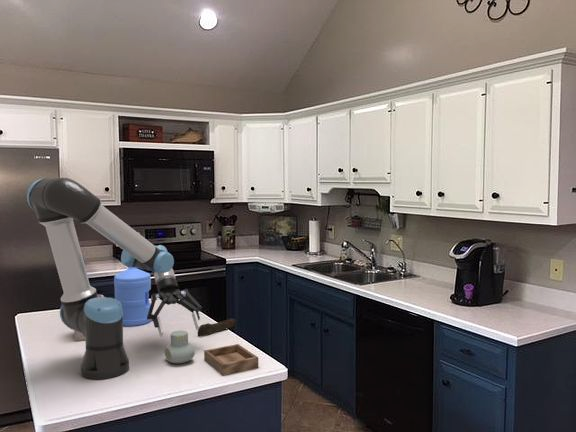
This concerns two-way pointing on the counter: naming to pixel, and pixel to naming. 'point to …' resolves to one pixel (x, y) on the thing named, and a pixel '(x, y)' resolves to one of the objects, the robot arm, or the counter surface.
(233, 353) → the tray
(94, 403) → the counter surface
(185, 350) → the air freshener
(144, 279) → the water jug
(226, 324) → the hand tool
